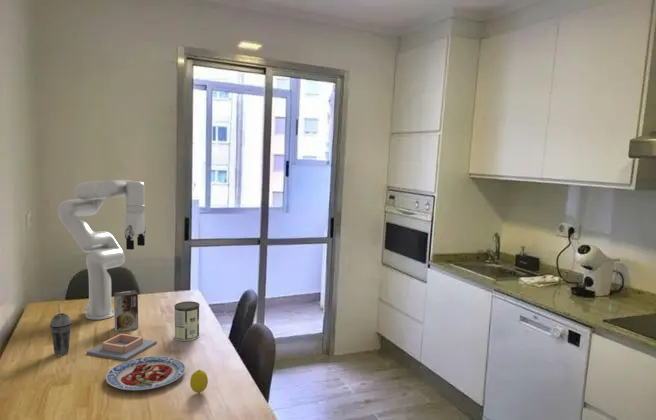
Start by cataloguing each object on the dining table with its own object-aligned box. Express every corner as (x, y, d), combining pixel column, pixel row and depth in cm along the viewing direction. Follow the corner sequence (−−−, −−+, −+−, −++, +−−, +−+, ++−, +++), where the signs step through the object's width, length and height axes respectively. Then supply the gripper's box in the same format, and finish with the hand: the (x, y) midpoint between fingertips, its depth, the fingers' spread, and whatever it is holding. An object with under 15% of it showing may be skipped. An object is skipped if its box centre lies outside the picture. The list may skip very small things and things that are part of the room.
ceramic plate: (127, 360, 175) (127, 352, 175) (195, 363, 174) (195, 355, 174) (90, 393, 149) (90, 384, 149) (169, 397, 148) (169, 389, 148)
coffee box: (135, 324, 212) (135, 289, 210) (138, 328, 206) (138, 293, 204) (114, 327, 207) (113, 292, 205) (116, 332, 201) (115, 295, 200)
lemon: (192, 389, 154) (192, 366, 153) (208, 389, 155) (209, 366, 154) (188, 397, 149) (188, 373, 148) (206, 397, 149) (206, 373, 148)
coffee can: (184, 330, 206) (184, 300, 204) (203, 334, 202) (204, 303, 201) (168, 338, 196) (169, 306, 195) (189, 342, 193) (189, 309, 191)
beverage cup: (76, 350, 181) (75, 300, 179) (64, 358, 174) (63, 306, 172) (59, 348, 182) (58, 299, 180) (46, 356, 175) (44, 304, 173)
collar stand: (86, 353, 178) (86, 345, 178) (119, 337, 195) (119, 329, 195) (126, 360, 173) (126, 351, 173) (156, 343, 191) (156, 335, 190)
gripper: (136, 207, 214) (137, 243, 216) (116, 210, 197) (117, 250, 199) (152, 207, 213) (152, 244, 215) (133, 211, 196) (134, 251, 198)
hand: (135, 247), depth 207 cm, fingers open, 9 cm apart
